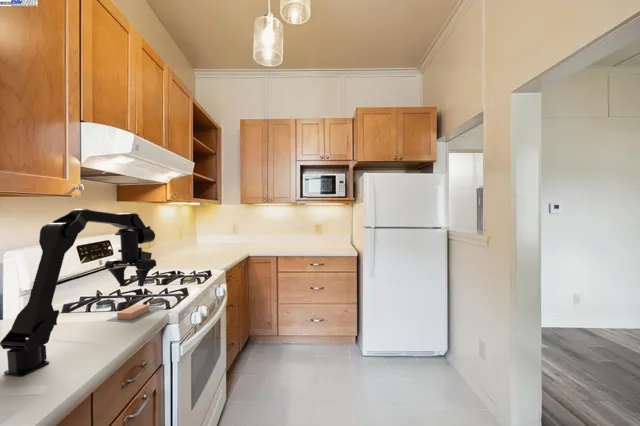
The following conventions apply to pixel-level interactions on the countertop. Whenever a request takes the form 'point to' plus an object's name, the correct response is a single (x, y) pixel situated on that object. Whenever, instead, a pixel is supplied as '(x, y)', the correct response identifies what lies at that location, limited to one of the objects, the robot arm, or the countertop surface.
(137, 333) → the countertop surface
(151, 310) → the mat
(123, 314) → the tan flat block
